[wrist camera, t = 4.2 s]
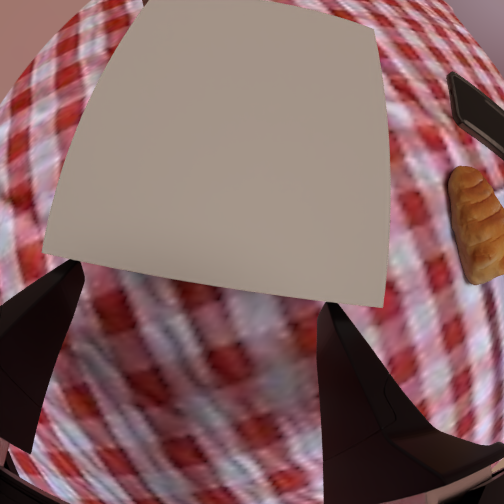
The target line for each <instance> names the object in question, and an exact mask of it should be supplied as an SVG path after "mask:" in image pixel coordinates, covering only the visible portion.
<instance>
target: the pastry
mask: <svg viewBox="0 0 504 504" xmlns="http://www.w3.org/2000/svg"><path fill="white" fill-rule="evenodd" d="M448 194H449V197H450V201H451V226H452V229H453V231H454V233H455V239H456V242H457V246H458V251H459V256H460V260H461V263H462V267H463V270H464V273H465V276H466V278H467V279H468V280H469V282H470V283H471V284H473V285H478V284H483V283H485V282H488V281H491V280H492V279H493V278H496V277H497V276H501V275H503V274H504V208H503V207H502V205H501V204H500V202H499V200H498V199H497V197H496V196H495V194H494V191H493V188H492V187H491V186H490V185H489V183H487V181H486V179H485V178H484V177H483V176H482V175H481V173H480V172H479V171H478V170H477V169H475V168H472V167H468V166H458V167H456V168H455V169H454V171H453V172H452V174H451V176H450V179H449V182H448Z"/></svg>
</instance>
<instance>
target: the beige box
mask: <svg viewBox="0 0 504 504" xmlns="http://www.w3.org/2000/svg"><path fill="white" fill-rule="evenodd" d="M389 233H390V151H389V135H388V122H387V111H386V102H385V93H384V85H383V78H382V71H381V65H380V59H379V54H378V48H377V43H376V38H375V33H374V29H372V28H369V27H367V26H364V25H361V24H358V23H355V22H352V21H349V20H346V19H343V18H340V17H336V16H333V15H329V14H326V13H322V12H318V11H314V10H310V9H306V8H302V7H297V6H292V5H287V4H282V3H276V2H270V1H264V0H149V1H148V2H147V4H146V5H145V6H144V8H143V9H142V10H141V12H140V13H139V15H138V16H137V17H136V19H135V20H134V22H133V23H132V25H131V26H130V28H129V29H128V31H127V32H126V34H125V36H124V37H123V39H122V40H121V42H120V44H119V45H118V47H117V49H116V50H115V52H114V54H113V55H112V57H111V59H110V61H109V62H108V64H107V66H106V68H105V70H104V72H103V73H102V75H101V77H100V79H99V81H98V83H97V85H96V87H95V89H94V91H93V93H92V95H91V97H90V100H89V102H88V104H87V106H86V108H85V111H84V113H83V115H82V117H81V120H80V122H79V125H78V127H77V130H76V132H75V135H74V137H73V140H72V142H71V145H70V148H69V151H68V153H67V156H66V159H65V162H64V165H63V168H62V171H61V175H60V178H59V181H58V184H57V188H56V191H55V195H54V199H53V202H52V206H51V210H50V215H49V219H48V223H47V228H46V232H45V237H44V243H43V248H42V253H45V254H49V255H54V256H58V257H63V258H67V259H72V260H77V261H81V262H86V263H91V264H96V265H101V266H106V267H111V268H116V269H121V270H126V271H131V272H137V273H142V274H147V275H153V276H158V277H164V278H170V279H175V280H181V281H187V282H193V283H199V284H205V285H211V286H218V287H224V288H230V289H237V290H244V291H250V292H257V293H264V294H271V295H279V296H286V297H294V298H301V299H309V300H317V301H325V302H334V303H343V304H351V305H361V306H370V307H380V308H383V302H384V294H385V285H386V275H387V264H388V251H389Z"/></svg>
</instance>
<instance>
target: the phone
mask: <svg viewBox="0 0 504 504" xmlns="http://www.w3.org/2000/svg"><path fill="white" fill-rule="evenodd" d="M448 80H449V81H448ZM447 83H448V88H449V94H450V101H451V108H452V115H453V118H454V120H455V122H456V123H457V125H458V126H459V127H460V128H461V129H463V130H464V131H466V132H467V133H469V134H470V135H471V136H473V137H474V138H476V139H477V140H478V141H480V142H481V143H482V144H484V145H485V146H486V147H488V148H489V149H490V150H491V151H493V152H494V153H495V154H496V155H498V156H499V157H500V158H501V159H503V160H504V110H503V109H502V108H500V107H499V106H498V105H497V104H496V103H495V102H493V101H492V100H491V99H490V98H489V97H487V96H486V95H485V94H484V93H482V92H481V91H480V90H479V89H477V88H476V87H475V86H473V85H472V84H471V83H469V82H468V81H467V80H465V79H464V78H463V77H461V76H460V75H458V74H457V73H455V72H453V71H452V72H450V73H449V74H448V75H447ZM450 90H452V95H451V91H450Z"/></svg>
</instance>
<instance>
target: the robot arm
mask: <svg viewBox="0 0 504 504" xmlns="http://www.w3.org/2000/svg"><path fill="white" fill-rule="evenodd" d="M84 282H85V276H84V272H83V269H82V265H81V262H80V261H77V260H72V259H69V260H68V261H66V262H64V263H63V264H61V265H60V266H58V267H57V268H55V269H53V270H52V271H50V272H49V273H47V274H46V275H44V276H43V277H41V278H40V279H38V280H37V281H35V282H34V283H32V284H31V285H29V286H28V287H26V288H25V289H23V290H22V291H21V292H19V293H18V294H16V295H15V296H13V297H12V298H11V299H9V300H8V301H6V302H5V303H4V304H3V305H1V306H0V504H70V503H67V502H65V501H63V500H61V499H59V498H57V497H55V496H53V495H51V494H49V493H47V492H45V491H43V490H41V489H39V488H37V487H35V486H34V485H32V484H30V483H28V482H27V481H25V480H23V479H22V478H20V477H19V474H18V472H17V470H16V468H15V465H14V463H13V461H12V458H11V456H10V453H9V451H8V448H9V445H10V443H11V444H12V445H14V446H16V447H18V448H19V449H21V450H23V451H25V452H27V453H29V454H31V452H32V447H33V442H34V437H35V433H36V429H37V425H38V420H39V417H40V413H41V408H42V405H43V401H44V398H45V394H46V391H47V388H48V384H49V381H50V378H51V375H52V372H53V369H54V366H55V363H56V360H57V357H58V355H59V352H60V349H61V347H62V344H63V341H64V339H65V336H66V333H67V331H68V328H69V326H70V324H71V321H72V318H73V316H74V313H75V310H76V307H77V303H78V300H79V297H80V294H81V291H82V288H83V285H84ZM316 359H317V372H318V384H319V398H320V412H321V429H322V450H323V487H324V504H504V468H502V469H500V470H498V471H496V472H493V473H492V470H491V464H493V463H495V462H497V461H498V460H500V459H502V458H504V444H503V443H501V442H496V443H494V444H492V445H486V446H485V445H479V444H476V443H473V442H470V441H466V440H463V439H461V438H458V437H455V436H452V435H449V434H446V433H443V432H441V431H439V430H437V429H436V428H435V427H433V426H432V425H431V424H430V423H429V422H428V421H427V419H426V418H425V417H424V416H423V415H422V414H421V412H420V411H419V410H418V409H417V408H416V407H415V405H414V404H413V403H412V402H411V401H410V399H409V398H408V397H407V396H406V395H405V393H404V392H403V391H402V389H401V388H400V387H399V385H398V384H397V383H396V381H395V380H394V379H393V377H392V376H391V374H389V372H388V370H387V369H386V368H385V366H384V365H383V363H382V362H381V361H380V359H379V358H378V357H377V355H376V354H375V352H374V351H373V350H372V348H371V347H370V346H369V344H368V343H367V342H366V340H365V339H364V337H363V336H362V335H361V333H360V332H359V331H358V329H357V328H356V327H355V325H354V324H353V323H352V321H351V320H350V319H349V317H348V316H347V315H346V313H345V312H344V311H343V309H342V308H341V307H340V306H339V304H338V303H334V302H325V304H324V306H323V308H322V310H321V312H320V314H319V316H318V319H317V358H316Z"/></svg>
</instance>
